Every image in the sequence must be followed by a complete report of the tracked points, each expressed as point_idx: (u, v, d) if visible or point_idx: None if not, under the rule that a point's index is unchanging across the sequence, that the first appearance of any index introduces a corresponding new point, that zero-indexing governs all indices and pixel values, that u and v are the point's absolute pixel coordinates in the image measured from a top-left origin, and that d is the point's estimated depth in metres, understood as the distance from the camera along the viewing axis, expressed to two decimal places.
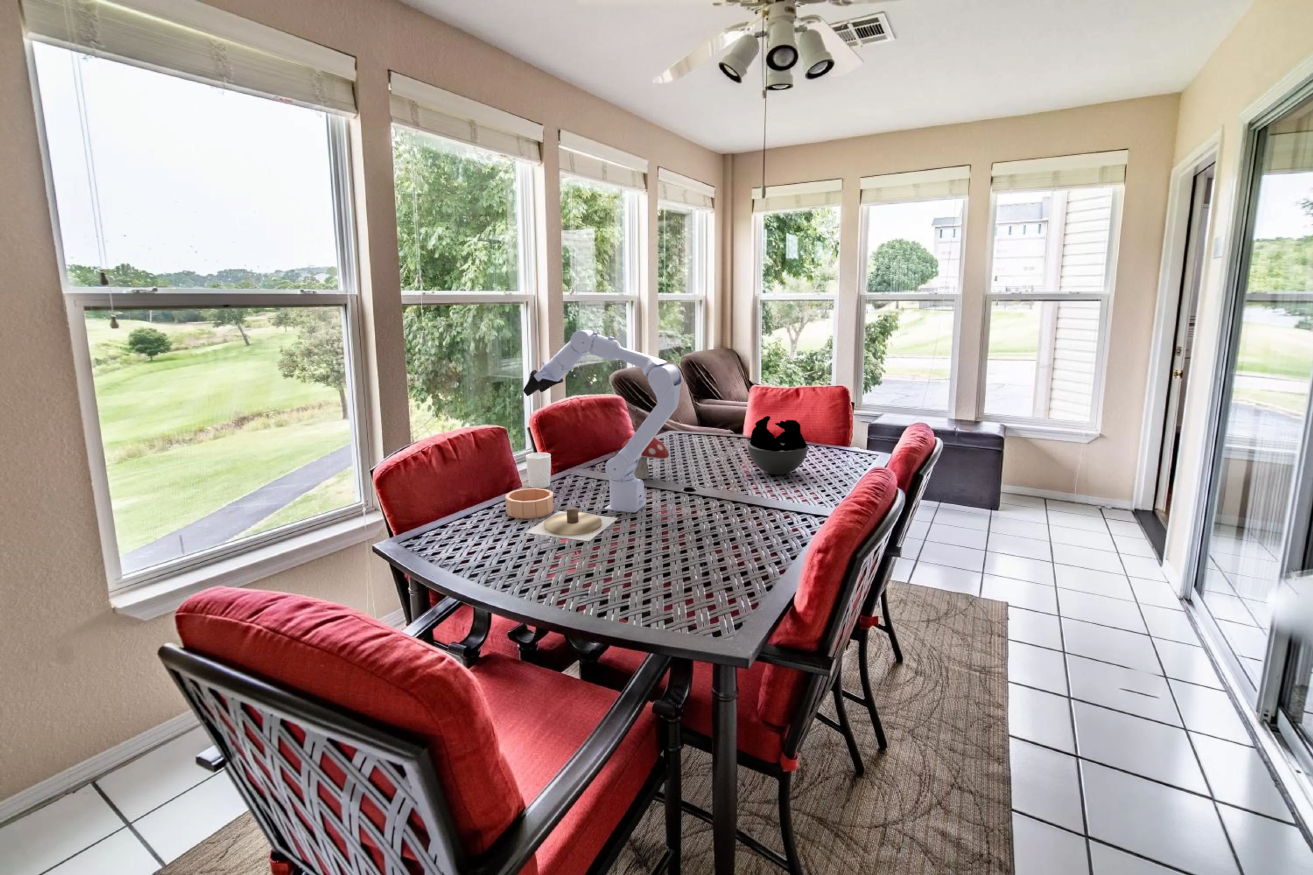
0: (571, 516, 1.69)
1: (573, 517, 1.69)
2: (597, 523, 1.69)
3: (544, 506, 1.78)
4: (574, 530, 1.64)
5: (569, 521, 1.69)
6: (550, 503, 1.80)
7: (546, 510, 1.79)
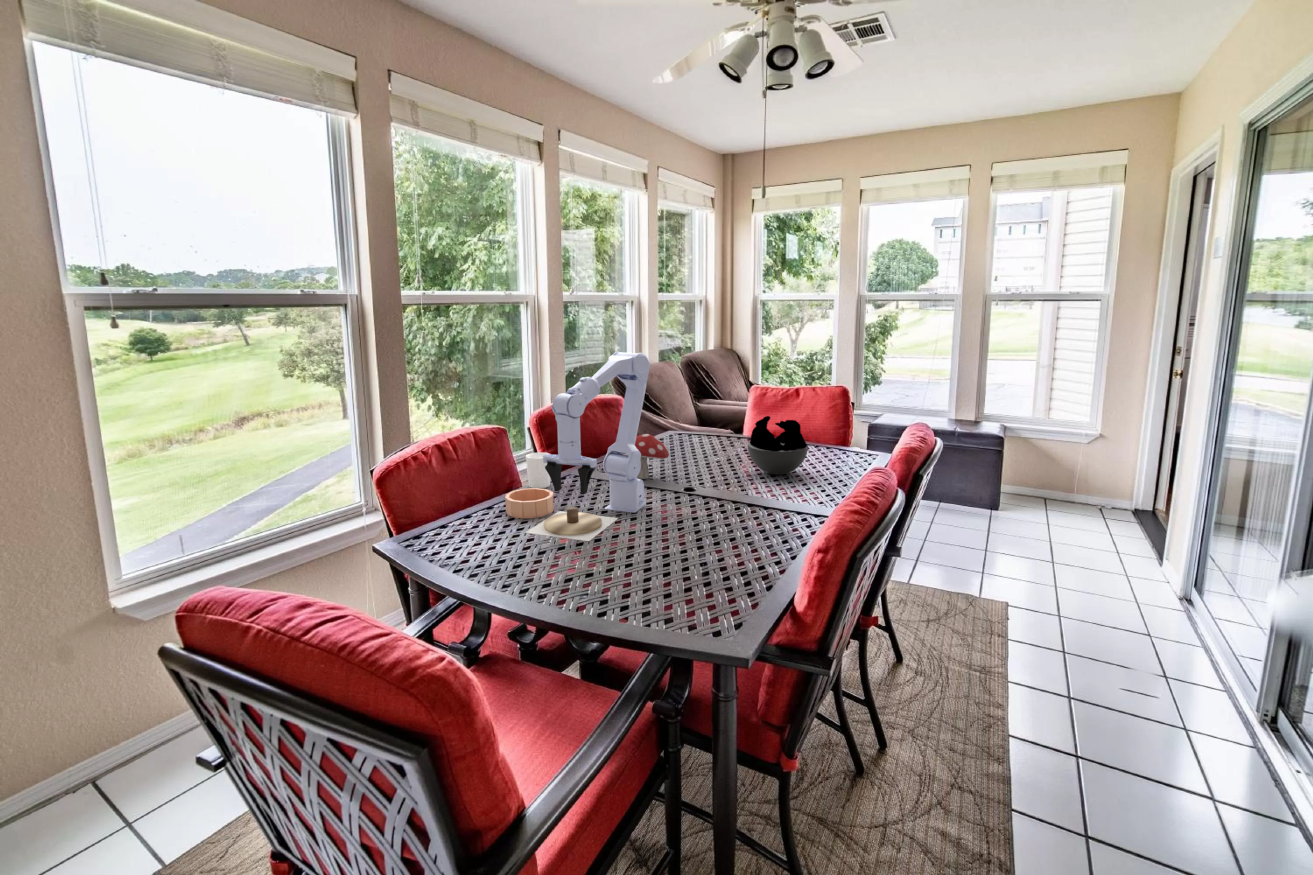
0: (571, 515, 1.69)
1: (573, 517, 1.69)
2: (597, 523, 1.69)
3: (544, 506, 1.78)
4: (574, 530, 1.64)
5: (569, 521, 1.69)
6: (550, 503, 1.80)
7: (546, 510, 1.79)
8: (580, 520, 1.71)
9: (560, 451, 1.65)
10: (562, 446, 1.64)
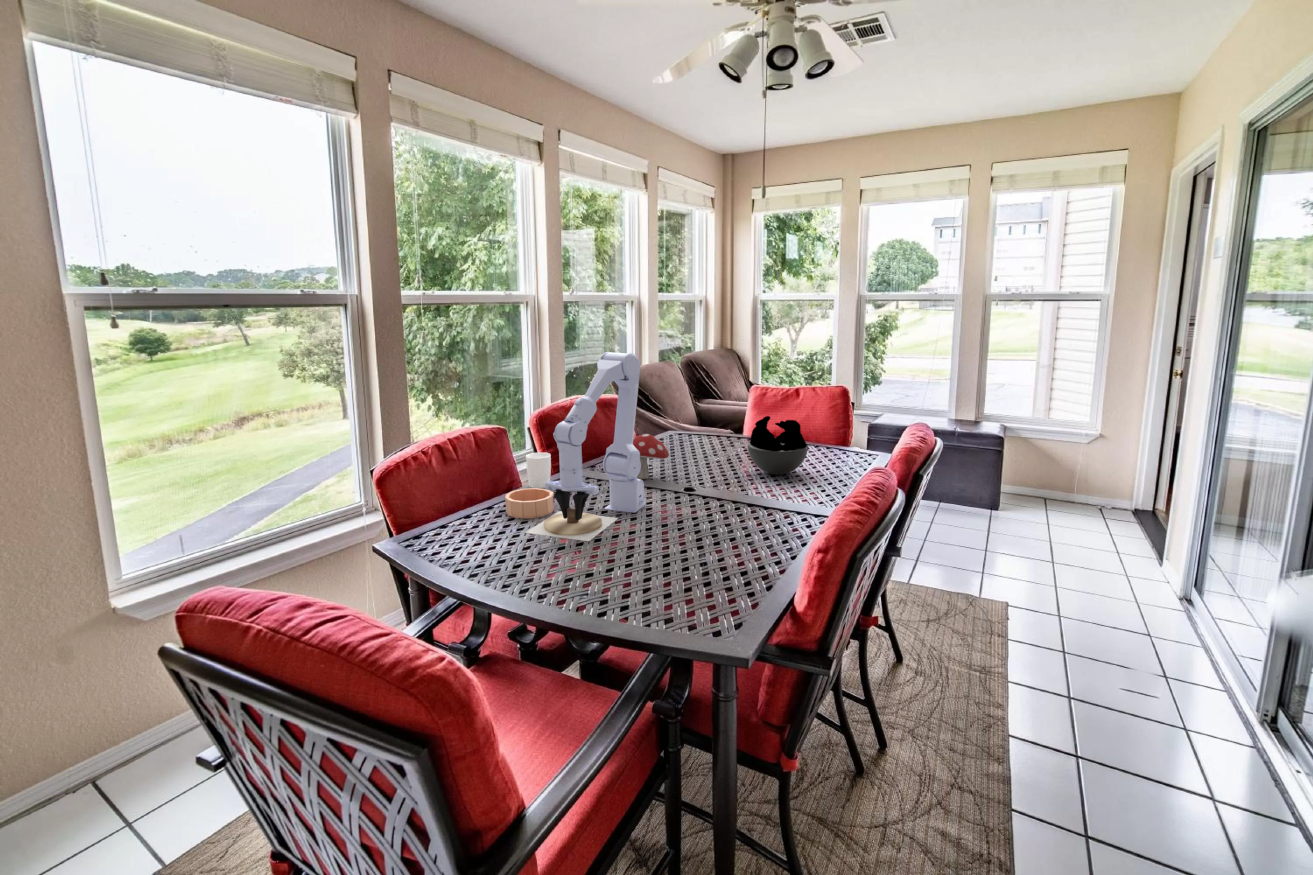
0: (571, 515, 1.69)
1: (573, 517, 1.69)
2: (597, 523, 1.69)
3: (544, 506, 1.78)
4: (574, 530, 1.64)
5: (569, 521, 1.69)
6: (550, 503, 1.80)
7: (546, 510, 1.79)
8: (580, 520, 1.71)
9: (562, 478, 1.66)
10: (564, 474, 1.65)
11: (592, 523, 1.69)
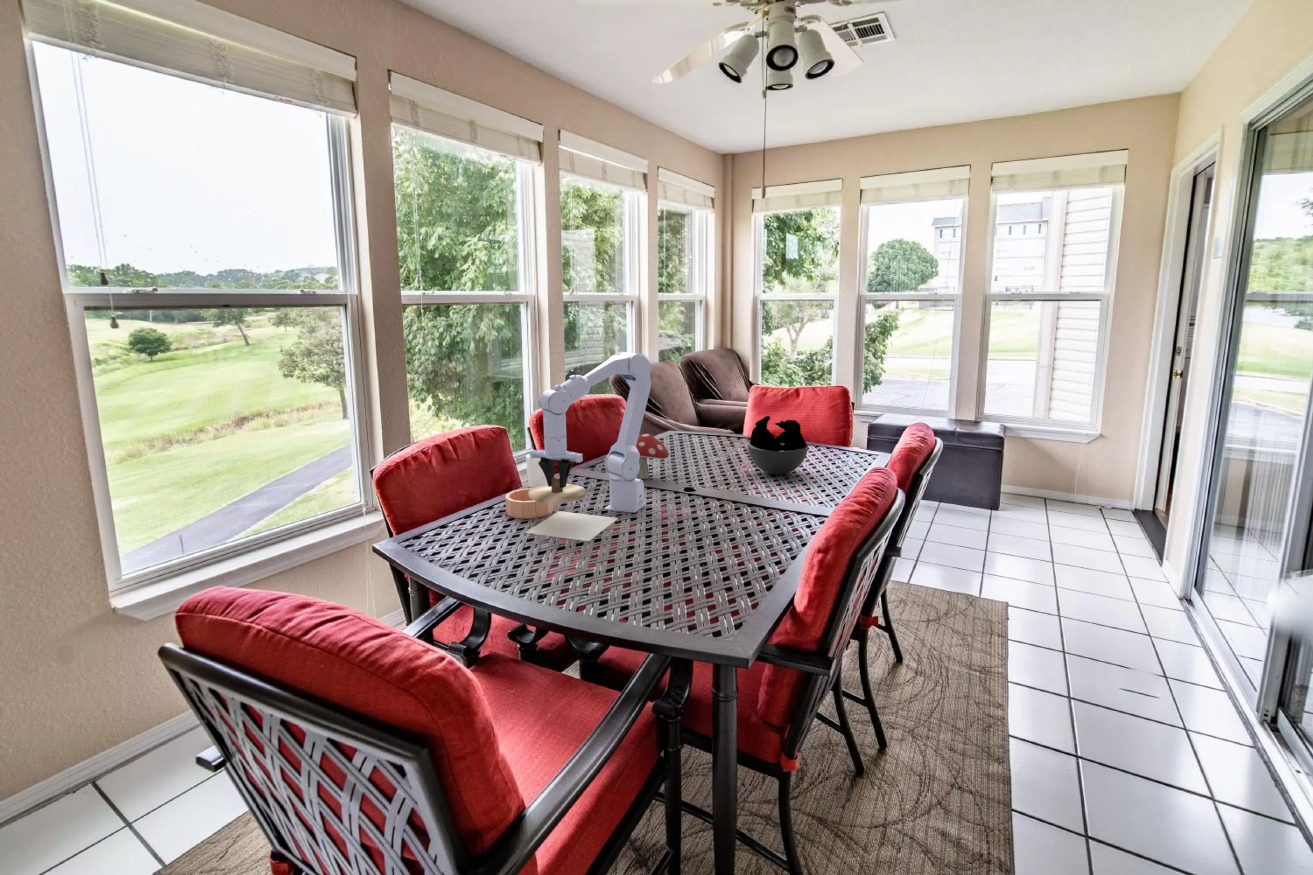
0: (555, 485, 1.71)
1: (558, 486, 1.71)
2: (582, 492, 1.71)
3: (544, 506, 1.78)
4: (559, 498, 1.66)
5: (554, 490, 1.72)
6: (550, 503, 1.80)
7: (546, 510, 1.79)
8: (564, 490, 1.74)
9: (546, 446, 1.68)
10: (548, 441, 1.68)
11: (576, 492, 1.71)
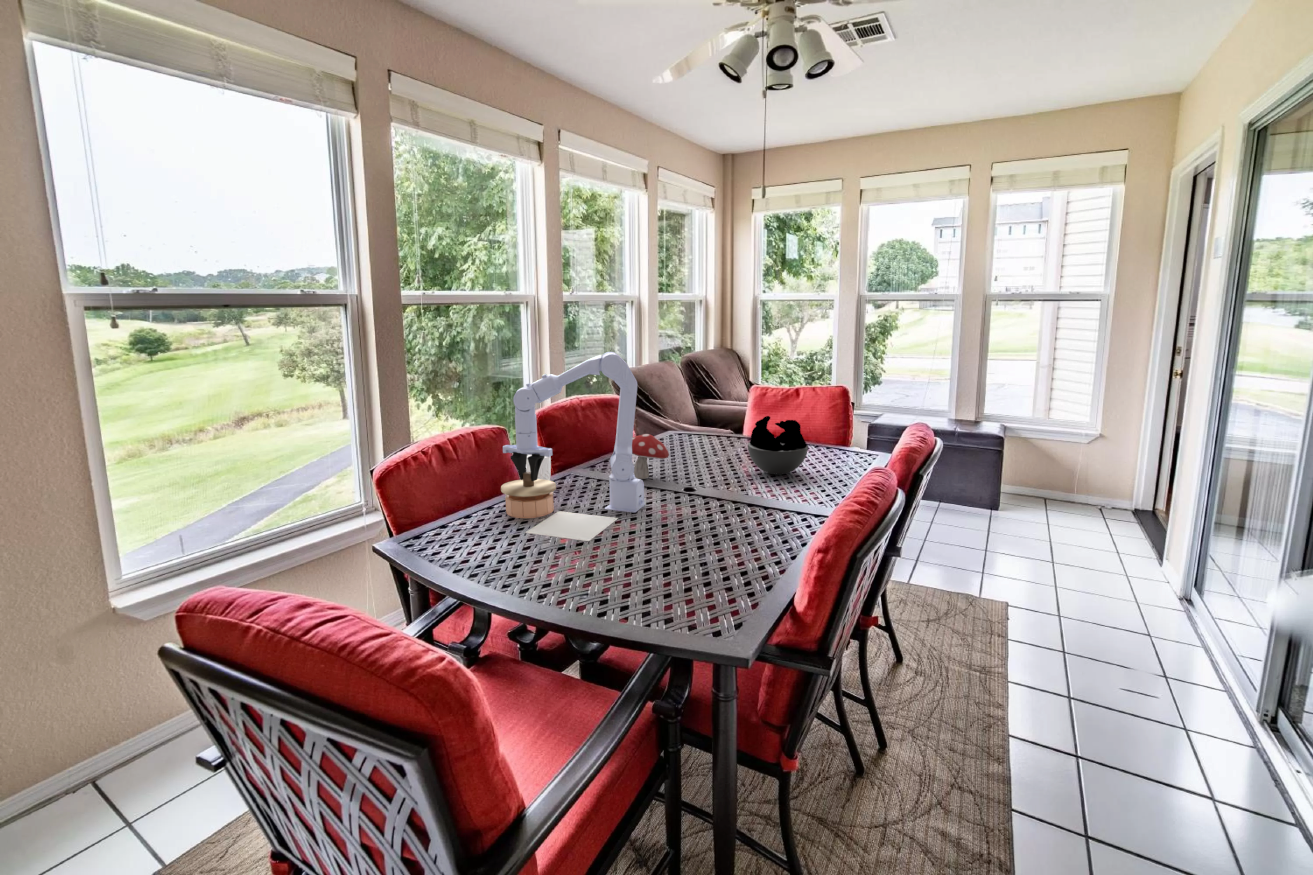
0: (527, 479, 1.80)
1: (529, 481, 1.80)
2: (552, 487, 1.80)
3: (544, 506, 1.78)
4: (530, 492, 1.75)
5: (525, 485, 1.80)
6: (550, 503, 1.80)
7: (546, 510, 1.79)
8: (536, 484, 1.82)
9: (518, 441, 1.77)
10: (519, 437, 1.76)
11: (547, 486, 1.80)
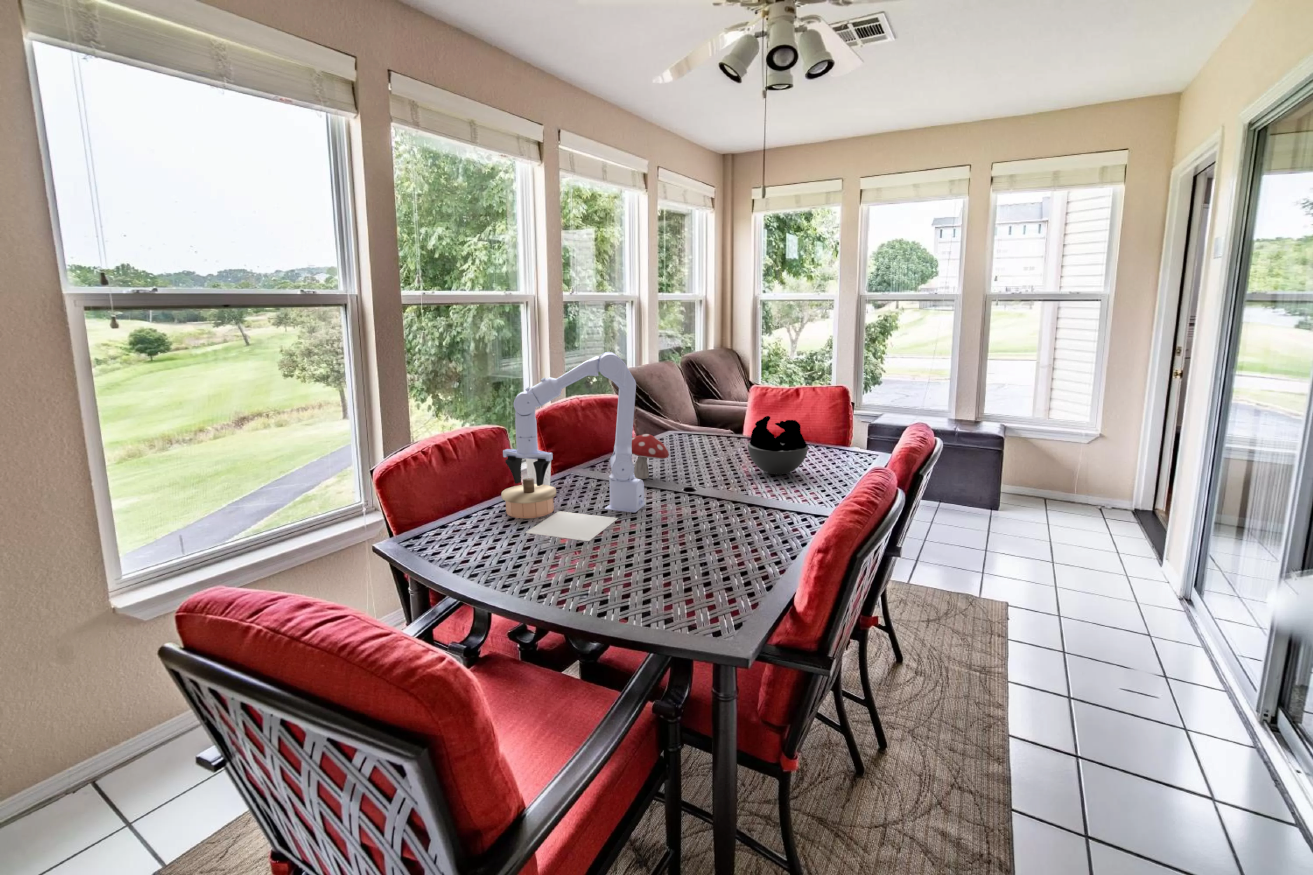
0: (527, 486, 1.80)
1: (529, 487, 1.80)
2: (552, 493, 1.80)
3: (544, 506, 1.78)
4: (530, 498, 1.75)
5: (525, 491, 1.80)
6: (550, 503, 1.80)
7: (546, 510, 1.79)
8: (536, 490, 1.83)
9: (518, 446, 1.77)
10: (519, 441, 1.76)
11: (547, 492, 1.80)
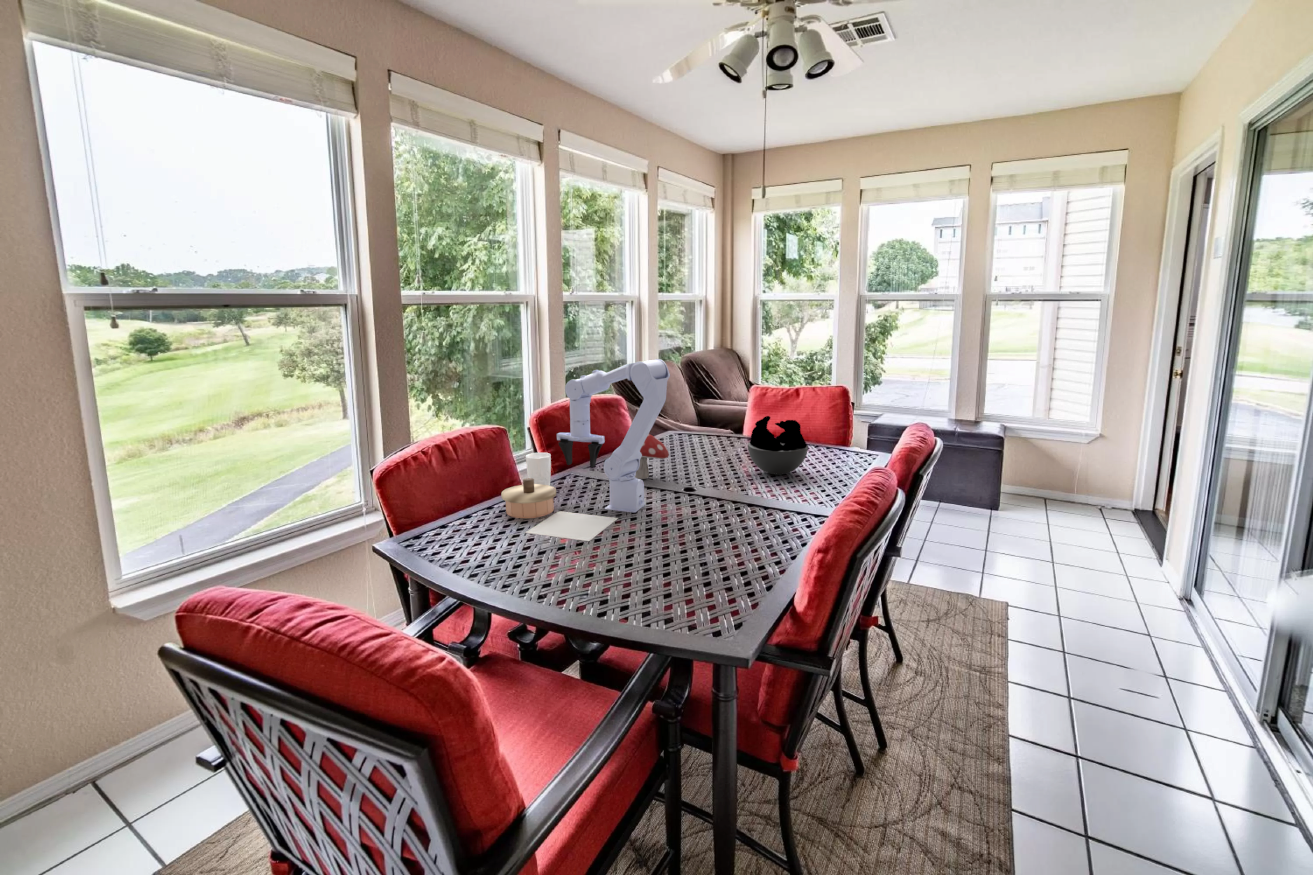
0: (527, 486, 1.80)
1: (529, 487, 1.80)
2: (552, 493, 1.80)
3: (544, 506, 1.78)
4: (530, 498, 1.75)
5: (525, 491, 1.80)
6: (550, 503, 1.80)
7: (546, 510, 1.79)
8: (536, 490, 1.83)
9: (572, 429, 1.88)
10: (574, 425, 1.87)
11: (547, 492, 1.80)
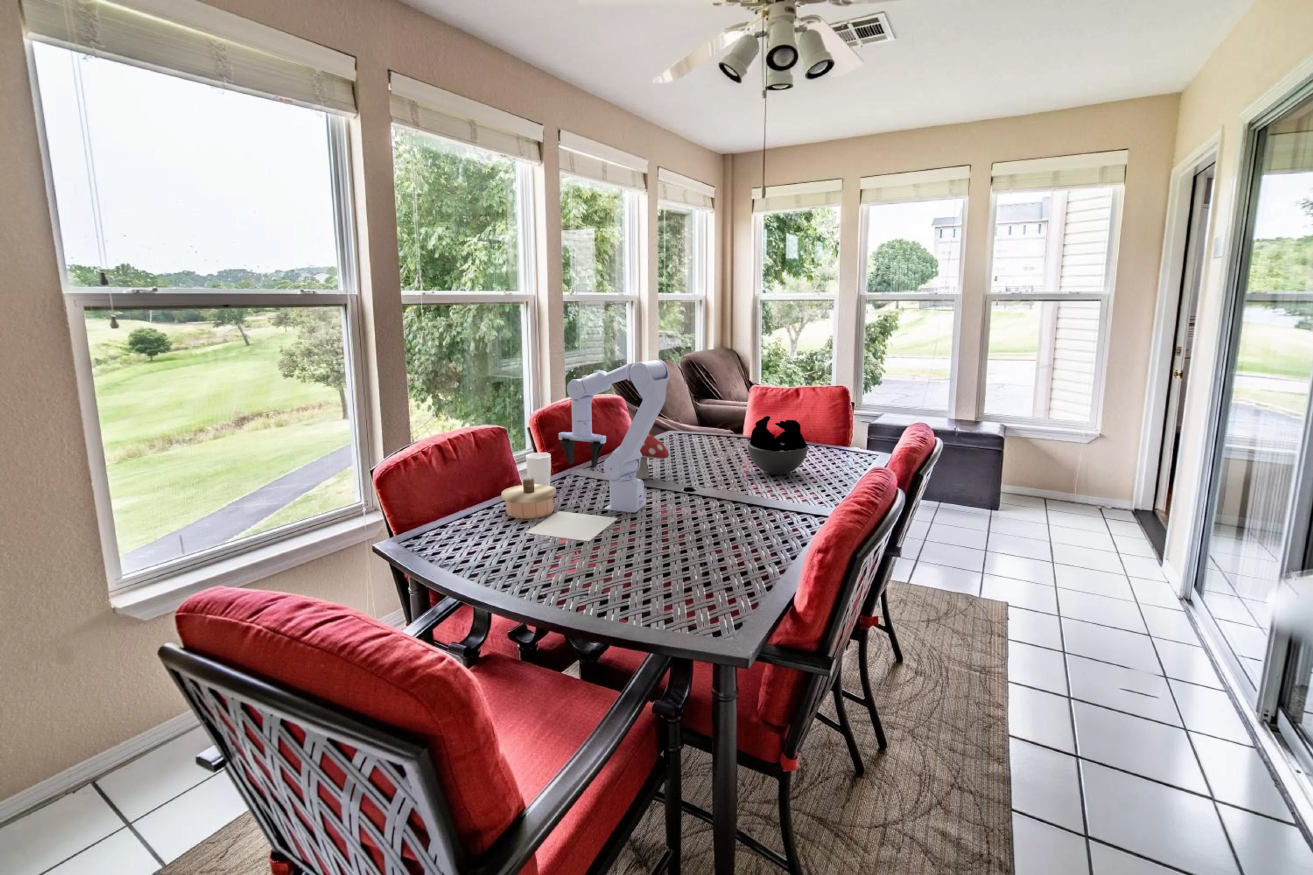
0: (527, 486, 1.80)
1: (529, 487, 1.80)
2: (552, 493, 1.80)
3: (544, 506, 1.78)
4: (530, 498, 1.75)
5: (525, 491, 1.80)
6: (550, 503, 1.80)
7: (546, 510, 1.79)
8: (536, 490, 1.83)
9: (574, 429, 1.88)
10: (576, 424, 1.88)
11: (547, 492, 1.80)
